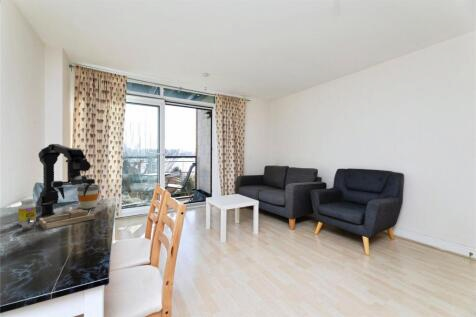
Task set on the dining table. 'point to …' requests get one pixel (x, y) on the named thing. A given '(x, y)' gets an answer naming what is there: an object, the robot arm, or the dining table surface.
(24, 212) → the supplement bottle
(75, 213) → the cardboard box
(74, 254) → the dining table surface
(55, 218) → the bay
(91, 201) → the reusable coffee cup
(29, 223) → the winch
